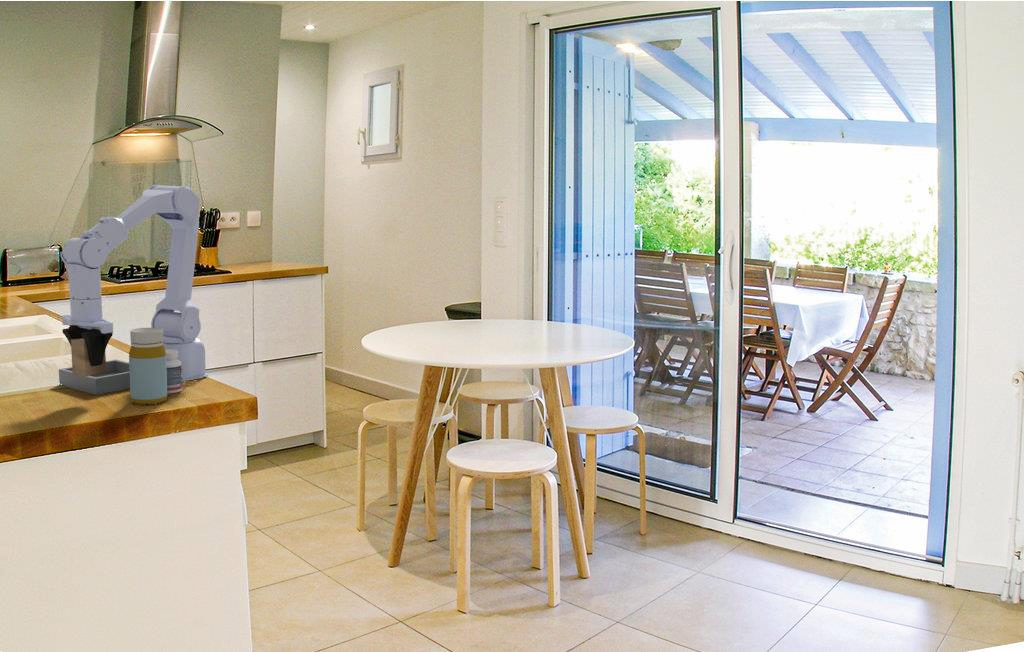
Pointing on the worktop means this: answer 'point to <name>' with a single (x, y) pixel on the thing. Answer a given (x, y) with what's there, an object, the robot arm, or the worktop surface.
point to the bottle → (147, 366)
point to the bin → (98, 379)
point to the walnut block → (84, 359)
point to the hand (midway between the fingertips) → (89, 363)
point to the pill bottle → (173, 371)
